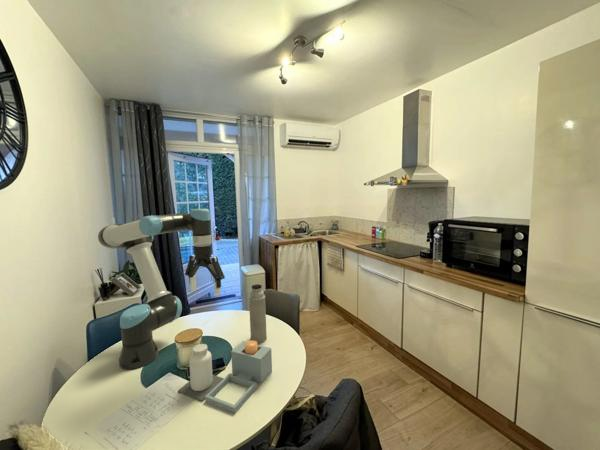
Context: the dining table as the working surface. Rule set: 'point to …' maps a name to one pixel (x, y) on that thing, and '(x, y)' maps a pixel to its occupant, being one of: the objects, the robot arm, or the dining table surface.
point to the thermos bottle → (257, 314)
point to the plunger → (251, 347)
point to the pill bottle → (200, 368)
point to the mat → (199, 394)
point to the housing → (243, 374)
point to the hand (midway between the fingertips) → (205, 293)
